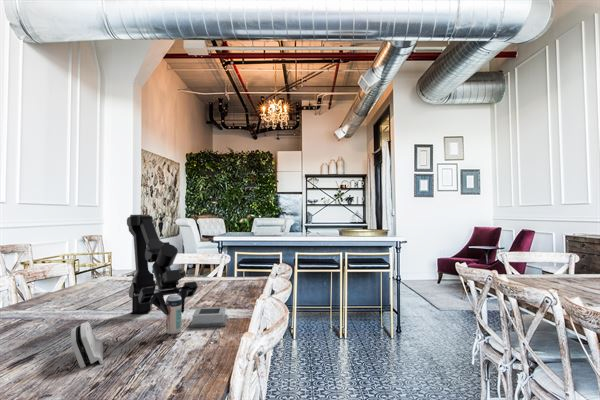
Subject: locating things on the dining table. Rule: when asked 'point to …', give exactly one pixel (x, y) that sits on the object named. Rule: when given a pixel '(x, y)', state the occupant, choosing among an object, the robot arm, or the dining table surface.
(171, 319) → the labelled cylindrical container
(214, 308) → the rail block
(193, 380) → the dining table surface
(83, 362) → the grey grooved device
